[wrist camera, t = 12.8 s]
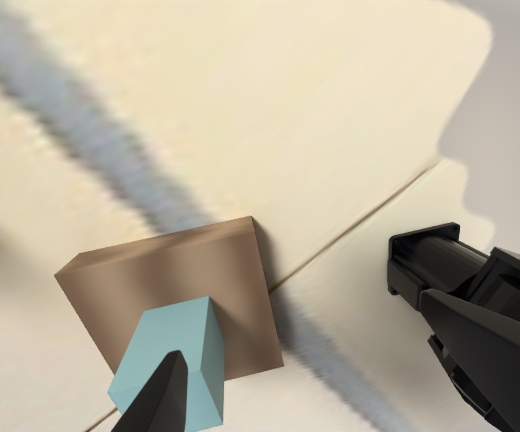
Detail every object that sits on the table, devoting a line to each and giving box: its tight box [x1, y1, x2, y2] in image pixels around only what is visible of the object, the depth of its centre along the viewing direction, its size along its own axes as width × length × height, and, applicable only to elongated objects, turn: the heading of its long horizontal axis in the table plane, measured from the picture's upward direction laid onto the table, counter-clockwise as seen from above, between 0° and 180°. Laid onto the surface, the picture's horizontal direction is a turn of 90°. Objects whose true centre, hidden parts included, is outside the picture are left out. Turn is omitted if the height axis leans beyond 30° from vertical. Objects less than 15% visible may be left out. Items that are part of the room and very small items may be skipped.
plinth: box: [54, 216, 284, 381], centre depth 21 cm, size 14×14×3 cm
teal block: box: [107, 296, 225, 432], centre depth 17 cm, size 5×5×6 cm
